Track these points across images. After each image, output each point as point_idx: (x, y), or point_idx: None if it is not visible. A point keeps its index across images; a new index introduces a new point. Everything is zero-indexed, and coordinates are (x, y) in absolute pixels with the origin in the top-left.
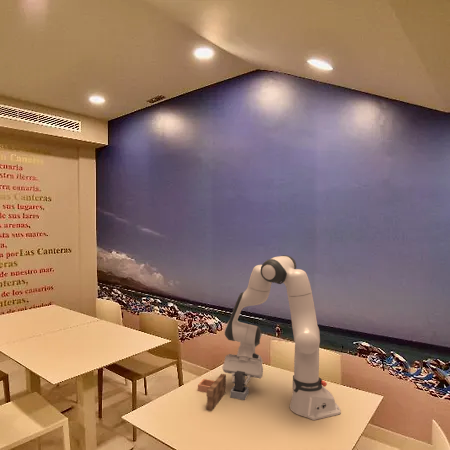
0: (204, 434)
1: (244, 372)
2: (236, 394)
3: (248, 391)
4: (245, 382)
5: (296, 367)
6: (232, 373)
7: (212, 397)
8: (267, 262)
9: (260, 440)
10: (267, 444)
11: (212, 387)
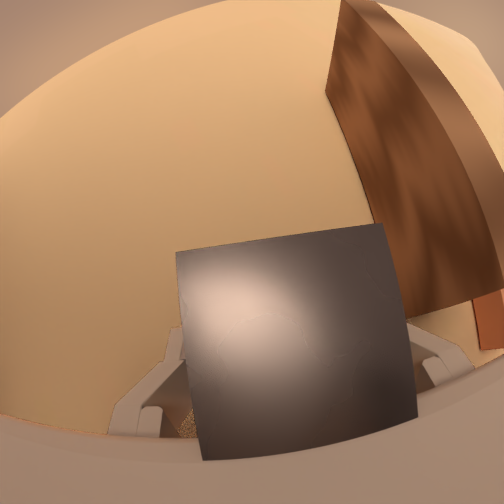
0: (254, 14)
1: (201, 429)
2: None
3: None
4: (181, 335)
5: None
6: (457, 358)
7: (337, 34)
8: None
9: (73, 74)
10: (56, 76)
11: (378, 18)
